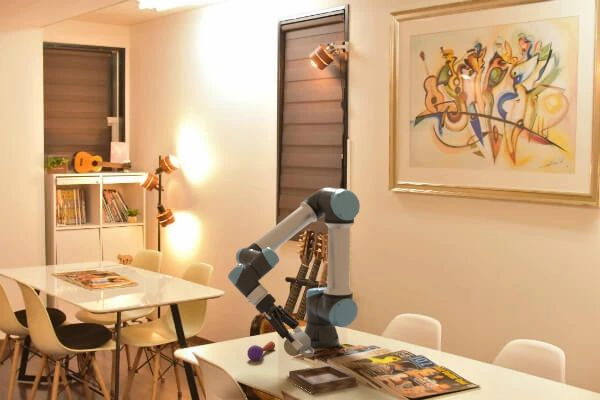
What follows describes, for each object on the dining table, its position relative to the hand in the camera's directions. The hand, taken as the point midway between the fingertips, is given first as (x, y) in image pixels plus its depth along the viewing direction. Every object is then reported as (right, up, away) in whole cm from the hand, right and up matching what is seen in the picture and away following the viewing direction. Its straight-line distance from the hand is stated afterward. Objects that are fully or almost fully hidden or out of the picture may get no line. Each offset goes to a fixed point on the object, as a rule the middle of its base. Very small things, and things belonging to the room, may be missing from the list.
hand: (303, 344), depth 303 cm
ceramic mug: (-1, -4, +1) cm, 4 cm away
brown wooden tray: (+6, -11, -15) cm, 19 cm away
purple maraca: (-16, -8, +20) cm, 27 cm away
